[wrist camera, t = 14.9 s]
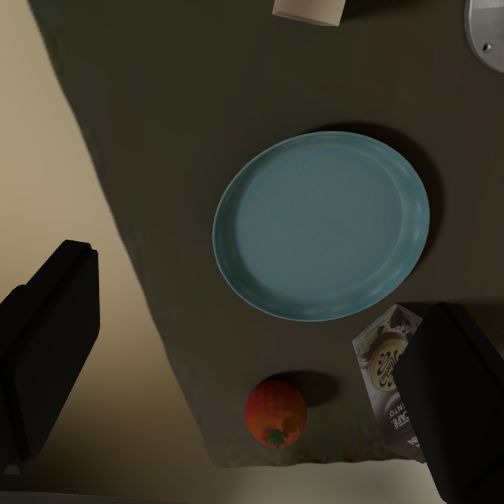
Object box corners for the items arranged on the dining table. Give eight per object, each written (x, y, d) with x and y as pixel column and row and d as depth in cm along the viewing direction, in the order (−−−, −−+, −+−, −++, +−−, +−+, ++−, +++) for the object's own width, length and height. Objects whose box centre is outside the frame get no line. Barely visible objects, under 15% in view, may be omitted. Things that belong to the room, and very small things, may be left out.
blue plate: (415, 289, 48) (426, 305, 46) (240, 317, 51) (239, 334, 48) (423, 100, 36) (437, 106, 33) (189, 150, 38) (184, 160, 36)
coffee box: (394, 300, 49) (449, 407, 35) (427, 320, 51) (491, 428, 37) (349, 340, 53) (383, 450, 39) (381, 357, 55) (423, 467, 41)
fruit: (249, 409, 62) (248, 470, 53) (241, 372, 57) (239, 433, 48) (304, 404, 61) (313, 465, 53) (301, 367, 56) (310, 427, 48)
